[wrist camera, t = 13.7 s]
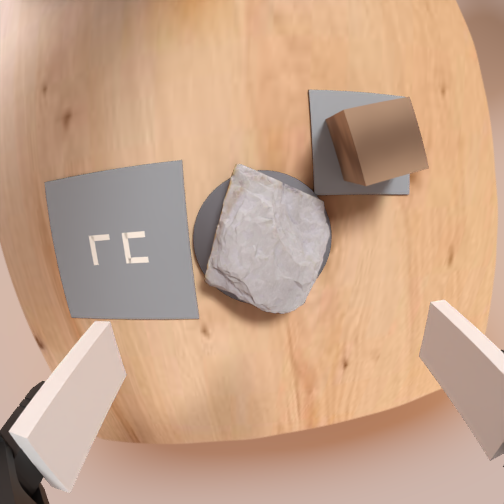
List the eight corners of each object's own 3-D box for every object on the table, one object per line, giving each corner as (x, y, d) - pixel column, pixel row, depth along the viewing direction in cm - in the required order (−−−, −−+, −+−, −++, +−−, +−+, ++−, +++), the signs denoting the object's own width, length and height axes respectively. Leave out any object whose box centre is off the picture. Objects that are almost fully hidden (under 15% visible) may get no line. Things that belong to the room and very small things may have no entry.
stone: (342, 200, 28) (353, 205, 25) (297, 311, 31) (302, 328, 28) (236, 162, 27) (234, 162, 24) (199, 280, 30) (192, 295, 27)
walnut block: (325, 119, 26) (343, 109, 21) (381, 106, 26) (409, 96, 20) (343, 180, 28) (366, 186, 22) (397, 165, 27) (428, 168, 22)
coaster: (188, 175, 28) (187, 175, 27) (328, 168, 28) (330, 168, 27) (202, 304, 32) (201, 307, 31) (328, 297, 31) (329, 299, 31)
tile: (308, 90, 26) (309, 89, 26) (404, 97, 26) (405, 96, 25) (314, 195, 29) (314, 195, 28) (408, 194, 28) (409, 194, 28)
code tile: (45, 182, 28) (44, 182, 28) (182, 160, 28) (181, 160, 27) (72, 316, 32) (71, 317, 32) (199, 317, 32) (198, 318, 32)
